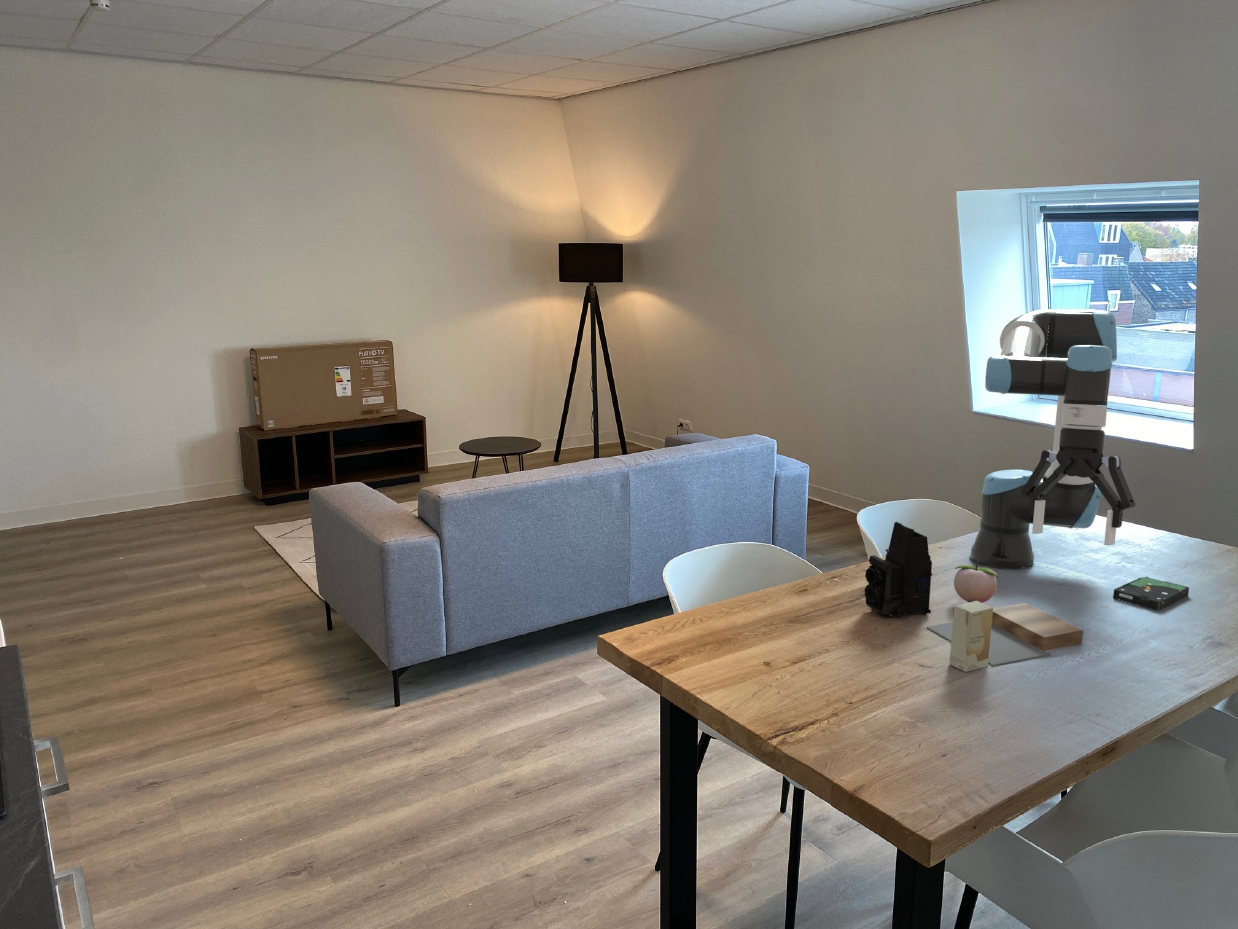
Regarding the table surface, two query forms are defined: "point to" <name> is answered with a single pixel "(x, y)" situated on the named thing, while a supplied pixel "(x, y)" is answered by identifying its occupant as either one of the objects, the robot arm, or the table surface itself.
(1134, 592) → the disk drive
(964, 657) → the skincare box
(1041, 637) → the walnut ledge
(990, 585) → the decorative fruit
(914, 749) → the table surface
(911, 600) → the camera
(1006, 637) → the rubber mat
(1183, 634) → the table surface
